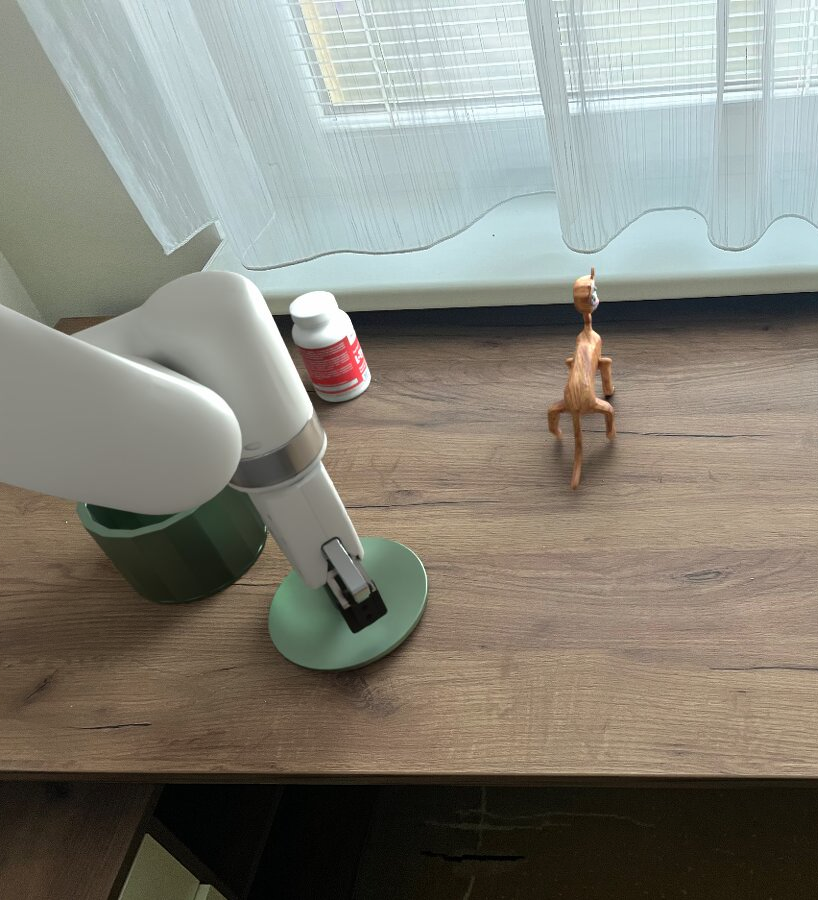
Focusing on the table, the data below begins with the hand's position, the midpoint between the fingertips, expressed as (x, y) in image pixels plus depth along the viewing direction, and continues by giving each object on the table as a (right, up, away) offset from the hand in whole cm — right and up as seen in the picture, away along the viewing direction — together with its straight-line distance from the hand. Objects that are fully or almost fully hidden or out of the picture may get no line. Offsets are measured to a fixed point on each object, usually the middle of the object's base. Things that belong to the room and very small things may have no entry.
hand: (343, 585), depth 73 cm
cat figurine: (+20, +13, +15) cm, 28 cm away
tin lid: (0, -2, +2) cm, 2 cm away
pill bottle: (-7, +18, +24) cm, 31 cm away
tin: (-16, +2, +9) cm, 18 cm away
